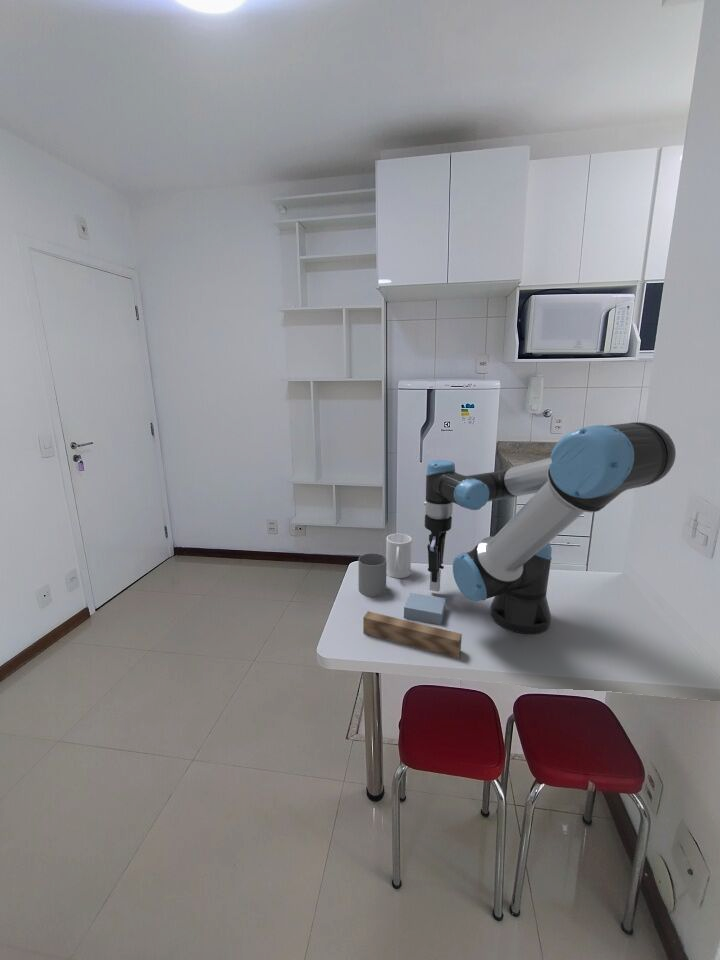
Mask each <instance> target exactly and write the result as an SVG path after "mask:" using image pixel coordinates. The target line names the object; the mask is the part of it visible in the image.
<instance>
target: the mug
mask: <svg viewBox="0 0 720 960" xmlns="http://www.w3.org/2000/svg"><path fill="white" fill-rule="evenodd" d="M385 539H386V547H385V550H386V551H385V552H386V553H385V554H386V555H385V557H386V560H387V566H386V576H388V577H391V578H395V579H404V578H408V577H409V576H411V574H412V569H411V568H412V542H413V541H412V537H411V536H409V534H405V533H391V534H389V535H387V536H386V538H385Z"/></svg>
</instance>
